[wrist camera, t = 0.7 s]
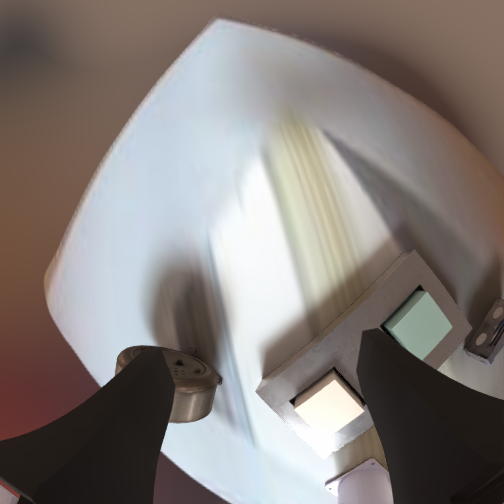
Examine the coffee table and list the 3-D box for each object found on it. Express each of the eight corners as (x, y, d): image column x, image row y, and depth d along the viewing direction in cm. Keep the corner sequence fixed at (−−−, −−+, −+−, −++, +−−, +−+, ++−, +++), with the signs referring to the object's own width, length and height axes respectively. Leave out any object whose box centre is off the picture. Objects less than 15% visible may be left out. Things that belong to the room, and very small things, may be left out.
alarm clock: (151, 366, 33) (64, 403, 17) (157, 330, 33) (64, 353, 18) (226, 395, 31) (164, 466, 15) (235, 357, 31) (172, 415, 15)
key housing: (456, 324, 26) (472, 328, 22) (323, 441, 27) (324, 458, 24) (402, 252, 28) (414, 248, 24) (262, 379, 30) (255, 391, 26)
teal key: (436, 322, 25) (452, 326, 21) (406, 354, 25) (418, 363, 21) (412, 290, 26) (427, 291, 22) (381, 323, 26) (391, 329, 22)
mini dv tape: (468, 355, 25) (491, 366, 19) (462, 349, 25) (486, 359, 19) (500, 305, 24) (526, 308, 18) (495, 299, 25) (522, 300, 19)
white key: (358, 396, 26) (364, 411, 22) (323, 422, 26) (324, 439, 22) (331, 367, 27) (334, 379, 23) (296, 394, 27) (293, 409, 23)
